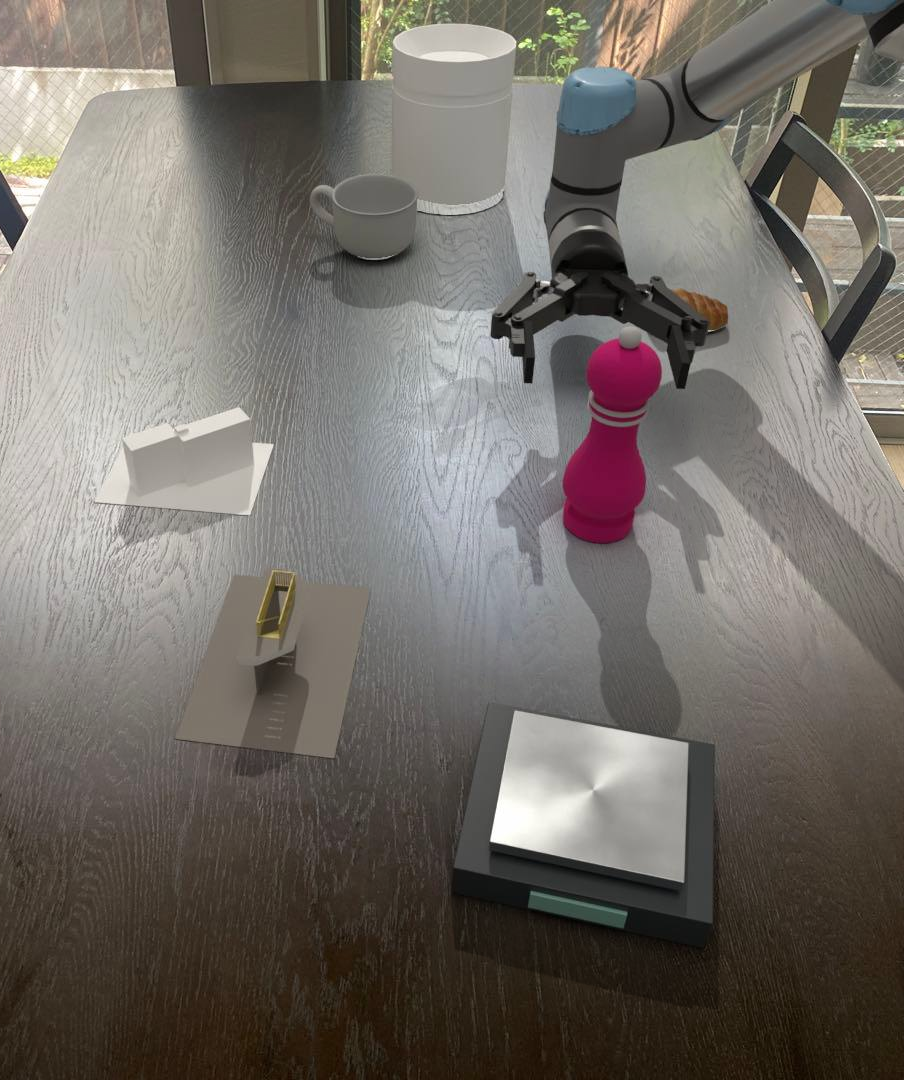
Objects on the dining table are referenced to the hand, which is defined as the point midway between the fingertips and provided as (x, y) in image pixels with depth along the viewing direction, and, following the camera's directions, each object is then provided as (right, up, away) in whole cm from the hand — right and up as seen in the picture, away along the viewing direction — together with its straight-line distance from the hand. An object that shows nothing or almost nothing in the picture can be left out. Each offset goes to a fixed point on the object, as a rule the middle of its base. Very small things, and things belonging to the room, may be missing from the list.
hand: (606, 373), depth 96 cm
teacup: (-22, +23, +43) cm, 54 cm away
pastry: (+15, +10, +29) cm, 34 cm away
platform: (-28, -24, -10) cm, 39 cm away
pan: (-7, -32, -25) cm, 41 cm away
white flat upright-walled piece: (-39, -8, +8) cm, 40 cm away
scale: (-7, -35, -22) cm, 42 cm away
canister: (-10, +34, +56) cm, 67 cm away
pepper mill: (0, -13, +2) cm, 13 cm away
